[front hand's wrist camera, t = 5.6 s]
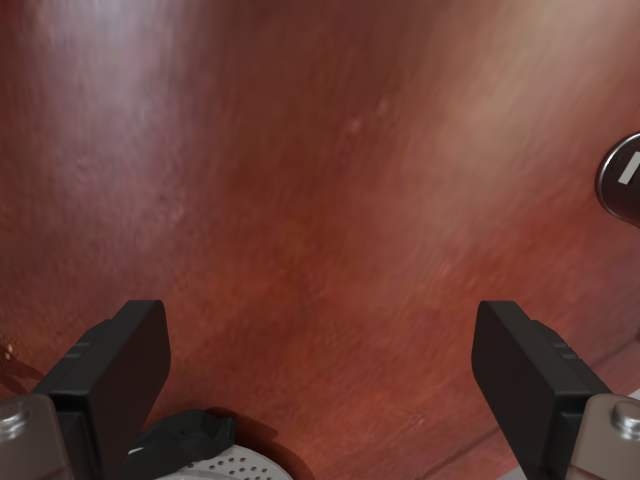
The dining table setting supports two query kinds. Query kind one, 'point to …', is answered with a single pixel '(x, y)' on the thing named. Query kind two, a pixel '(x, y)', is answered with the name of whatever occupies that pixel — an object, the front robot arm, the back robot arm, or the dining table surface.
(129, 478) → the brake disc
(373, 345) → the dining table surface
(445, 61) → the dining table surface
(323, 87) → the dining table surface
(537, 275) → the dining table surface
